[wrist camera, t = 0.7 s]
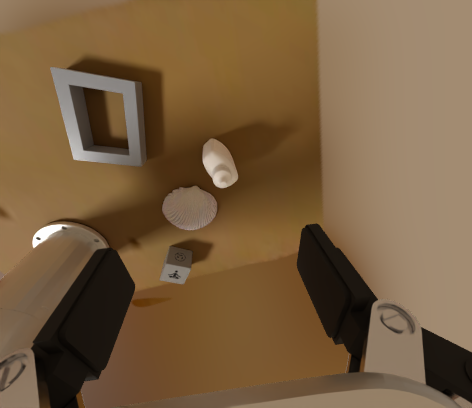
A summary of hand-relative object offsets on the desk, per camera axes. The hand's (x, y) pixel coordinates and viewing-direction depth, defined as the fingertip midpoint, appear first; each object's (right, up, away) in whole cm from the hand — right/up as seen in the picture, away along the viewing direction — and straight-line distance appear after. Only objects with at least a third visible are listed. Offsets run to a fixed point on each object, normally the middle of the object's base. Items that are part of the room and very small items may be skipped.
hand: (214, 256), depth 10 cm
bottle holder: (-17, +15, +18) cm, 29 cm away
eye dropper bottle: (-2, +11, +23) cm, 26 cm away
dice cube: (-12, -9, +34) cm, 37 cm away
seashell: (-8, +2, +28) cm, 29 cm away
